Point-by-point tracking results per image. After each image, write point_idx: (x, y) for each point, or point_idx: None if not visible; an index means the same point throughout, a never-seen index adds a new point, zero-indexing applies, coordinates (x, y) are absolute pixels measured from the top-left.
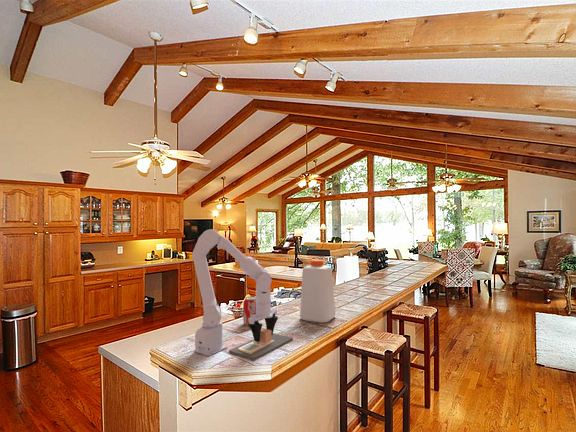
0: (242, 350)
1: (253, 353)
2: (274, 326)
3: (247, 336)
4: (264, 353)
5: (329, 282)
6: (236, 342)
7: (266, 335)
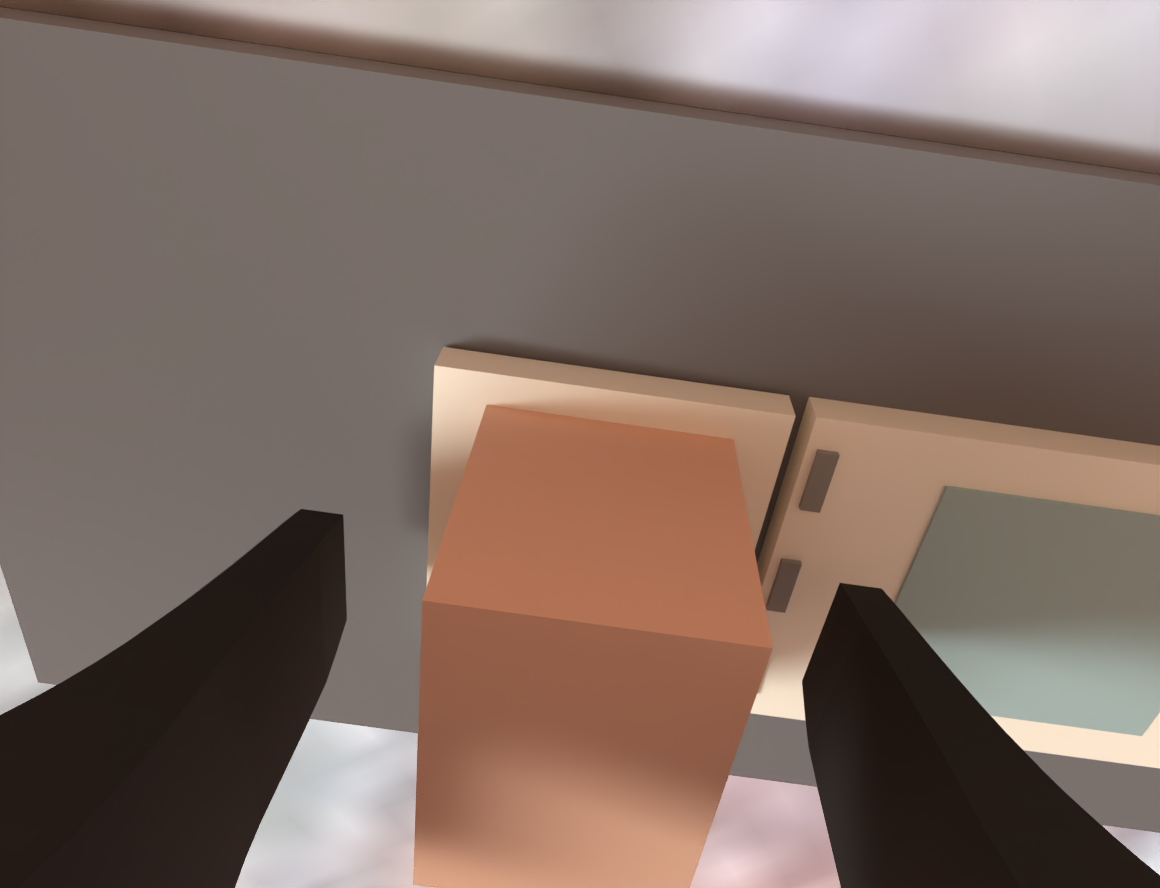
0: None
1: None
2: (111, 653)
3: (396, 858)
4: None
5: None
6: (701, 875)
7: (713, 565)
